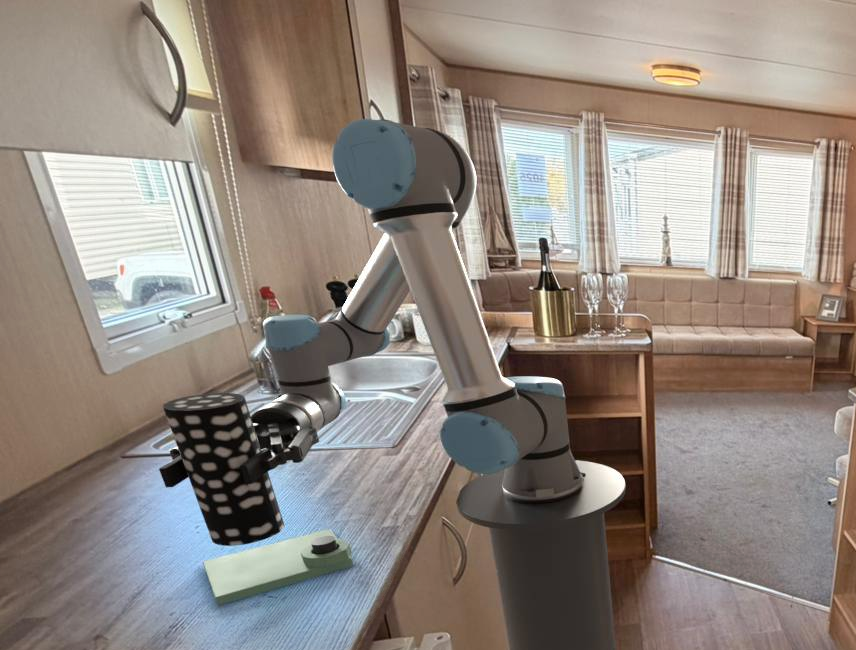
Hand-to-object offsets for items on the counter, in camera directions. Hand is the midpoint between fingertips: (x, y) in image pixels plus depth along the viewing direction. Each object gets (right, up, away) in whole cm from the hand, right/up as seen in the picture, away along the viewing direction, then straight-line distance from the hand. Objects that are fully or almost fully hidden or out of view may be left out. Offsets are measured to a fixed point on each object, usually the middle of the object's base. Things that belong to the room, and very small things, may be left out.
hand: (206, 476), depth 85 cm
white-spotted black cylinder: (-2, -8, +9) cm, 12 cm away
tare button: (+7, -11, +12) cm, 18 cm away
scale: (+1, -14, +11) cm, 18 cm away
